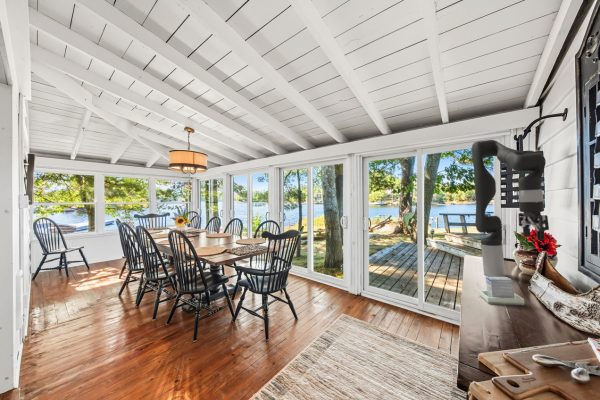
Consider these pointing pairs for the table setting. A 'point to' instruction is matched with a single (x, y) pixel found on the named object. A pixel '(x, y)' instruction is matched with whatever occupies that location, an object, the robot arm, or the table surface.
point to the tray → (501, 299)
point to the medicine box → (500, 287)
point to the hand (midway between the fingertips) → (533, 238)
